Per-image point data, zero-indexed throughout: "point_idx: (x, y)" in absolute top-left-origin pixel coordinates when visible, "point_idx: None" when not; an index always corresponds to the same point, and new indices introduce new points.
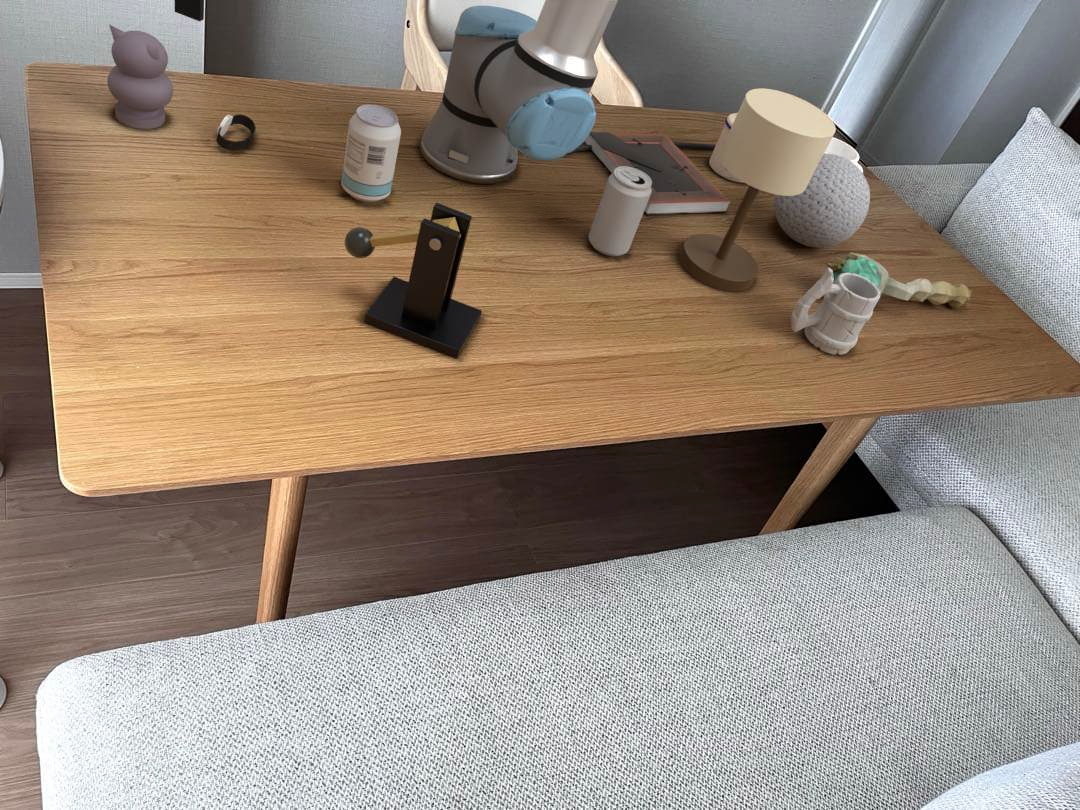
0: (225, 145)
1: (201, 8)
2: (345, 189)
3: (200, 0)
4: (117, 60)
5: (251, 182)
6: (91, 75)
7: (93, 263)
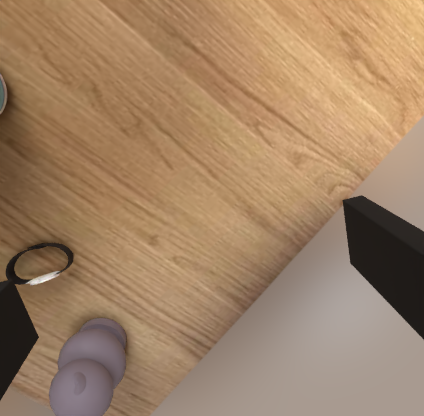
0: (70, 252)
1: (369, 207)
2: (5, 101)
3: (388, 213)
4: (112, 393)
5: (90, 191)
6: None
7: (319, 181)
